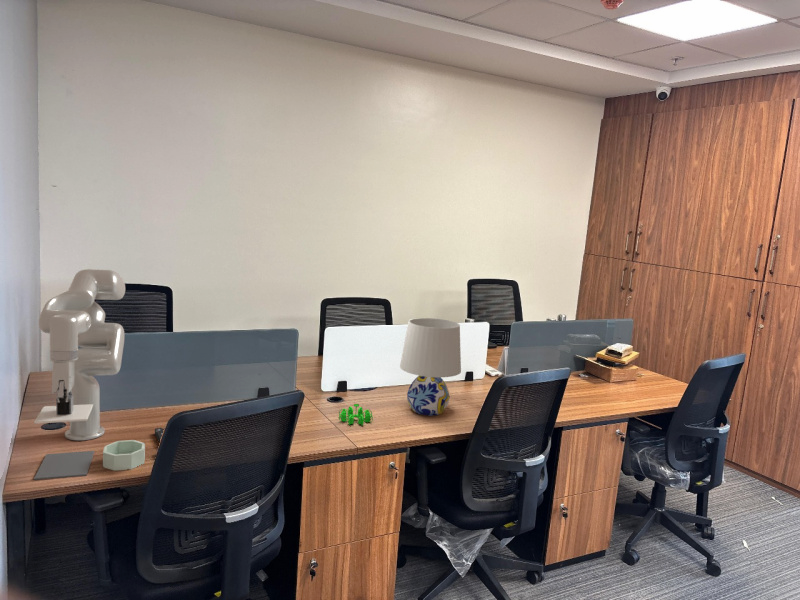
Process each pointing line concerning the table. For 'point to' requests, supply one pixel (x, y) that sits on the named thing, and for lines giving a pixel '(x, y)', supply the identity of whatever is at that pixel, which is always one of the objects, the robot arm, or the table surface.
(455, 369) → the table lamp
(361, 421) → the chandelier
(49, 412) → the lid
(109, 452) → the bowl
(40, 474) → the mat
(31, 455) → the table surface
